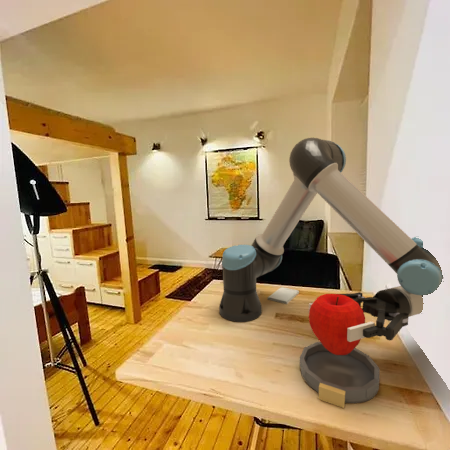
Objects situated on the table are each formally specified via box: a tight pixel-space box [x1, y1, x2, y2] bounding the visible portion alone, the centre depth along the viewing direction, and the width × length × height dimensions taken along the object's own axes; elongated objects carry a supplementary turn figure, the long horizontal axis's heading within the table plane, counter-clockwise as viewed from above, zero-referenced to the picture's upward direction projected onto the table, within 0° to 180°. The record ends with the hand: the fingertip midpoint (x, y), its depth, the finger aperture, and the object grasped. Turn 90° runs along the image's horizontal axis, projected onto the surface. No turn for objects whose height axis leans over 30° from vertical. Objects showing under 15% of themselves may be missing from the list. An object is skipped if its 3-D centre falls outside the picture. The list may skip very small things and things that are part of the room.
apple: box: [308, 293, 366, 355], centre depth 61 cm, size 12×12×13 cm
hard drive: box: [267, 286, 300, 305], centre depth 108 cm, size 2×8×12 cm
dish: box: [299, 341, 381, 409], centre depth 63 cm, size 17×18×3 cm
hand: (327, 320), depth 60 cm, fingers closed on apple, 12 cm apart
